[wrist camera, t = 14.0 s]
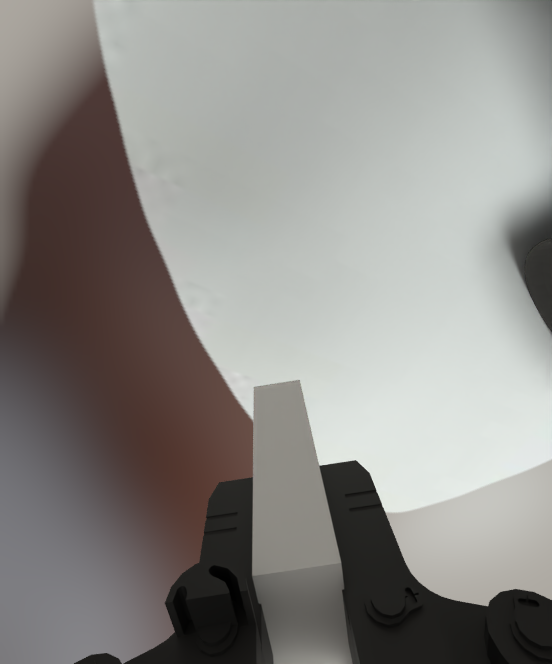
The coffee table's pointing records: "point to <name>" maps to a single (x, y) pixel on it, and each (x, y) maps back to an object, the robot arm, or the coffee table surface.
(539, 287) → the wheel rim
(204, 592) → the robot arm
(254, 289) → the coffee table surface
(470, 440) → the coffee table surface
